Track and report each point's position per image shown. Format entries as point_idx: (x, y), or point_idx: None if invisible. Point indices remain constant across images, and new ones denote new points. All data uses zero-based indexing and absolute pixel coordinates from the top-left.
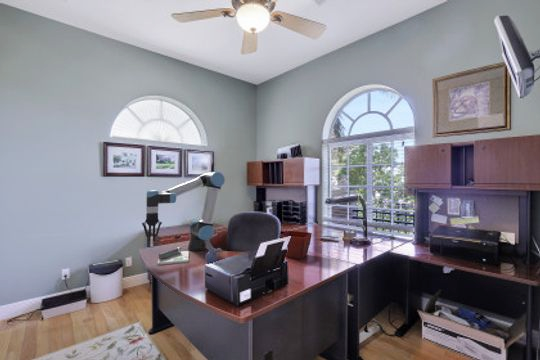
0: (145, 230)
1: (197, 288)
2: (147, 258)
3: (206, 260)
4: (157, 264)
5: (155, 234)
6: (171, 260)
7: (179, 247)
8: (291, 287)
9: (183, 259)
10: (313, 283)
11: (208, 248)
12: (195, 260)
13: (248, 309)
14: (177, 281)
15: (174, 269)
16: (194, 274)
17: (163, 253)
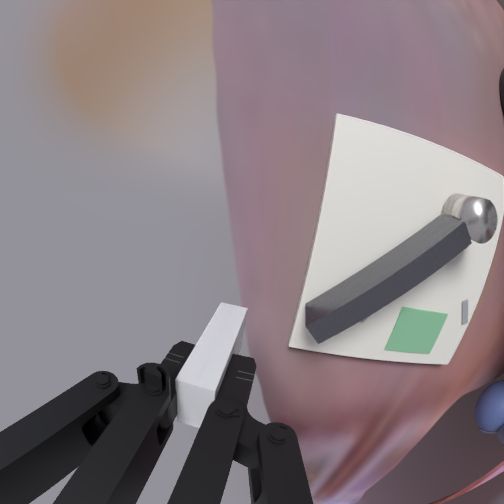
0: (54, 467)
1: (346, 499)
2: (231, 159)
3: (475, 410)
4: (289, 340)
5: (244, 462)
6: (376, 342)
7: (488, 219)
8: (458, 492)
9: (435, 349)
10: (485, 481)
11: (501, 441)
12: (475, 343)
13: None
14: (321, 478)
15: (351, 419)
16: (385, 460)
17: (341, 330)
